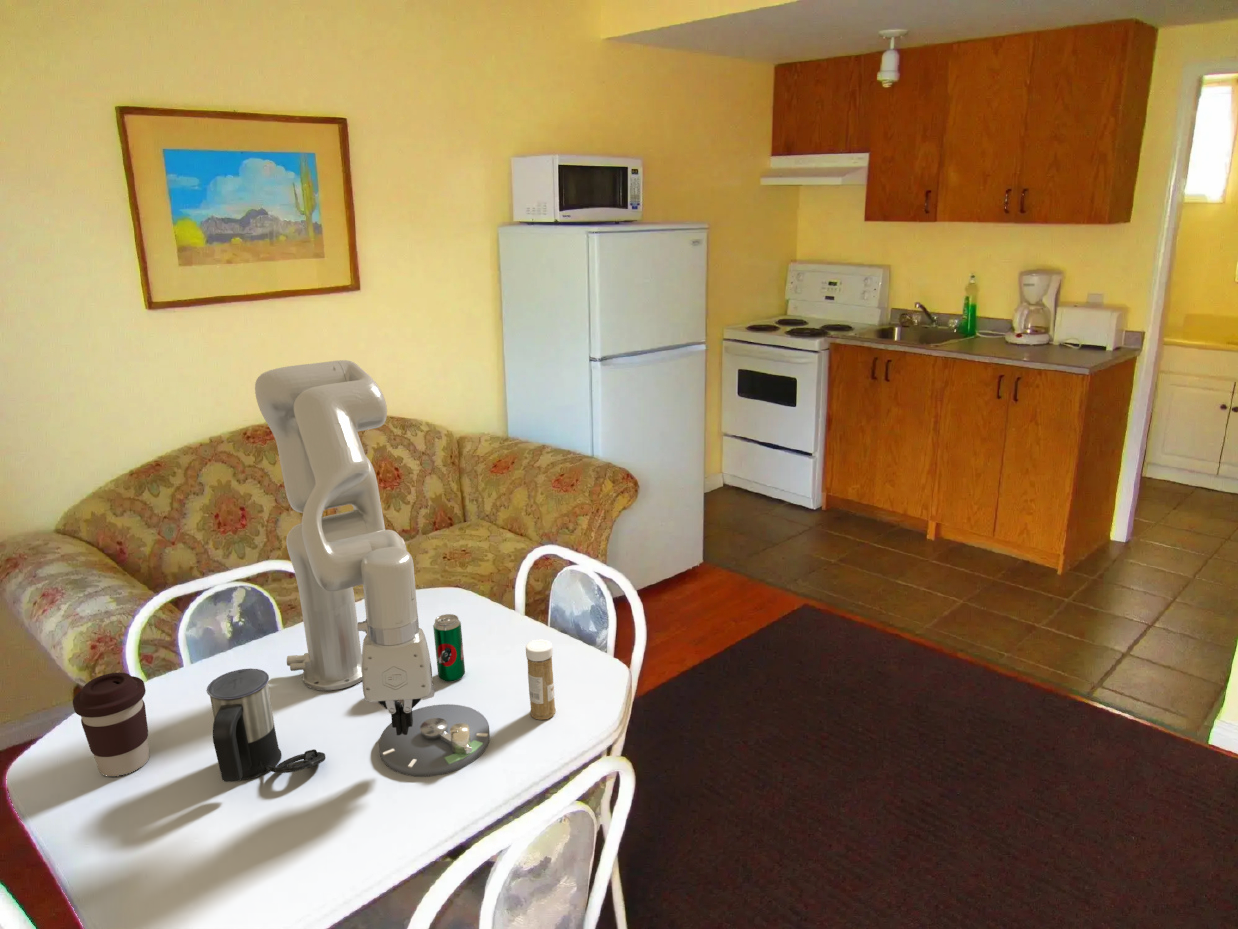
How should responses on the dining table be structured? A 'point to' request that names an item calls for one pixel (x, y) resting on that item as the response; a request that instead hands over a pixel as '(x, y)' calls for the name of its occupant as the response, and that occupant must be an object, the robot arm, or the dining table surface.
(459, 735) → the needle
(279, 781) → the dining table surface
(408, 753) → the dial
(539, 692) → the spice jar
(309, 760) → the milk frother
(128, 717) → the coffee cup
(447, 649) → the soda can
